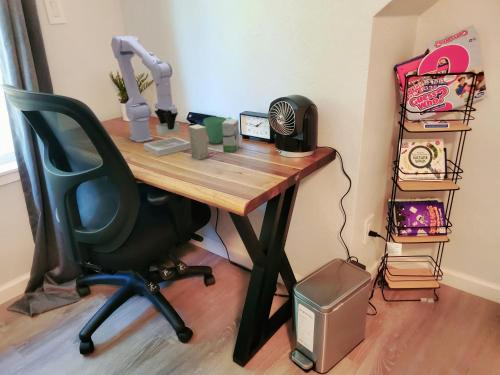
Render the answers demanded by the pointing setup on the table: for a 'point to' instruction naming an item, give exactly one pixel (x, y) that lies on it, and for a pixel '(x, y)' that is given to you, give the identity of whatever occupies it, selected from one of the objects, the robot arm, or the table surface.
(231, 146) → the ink box
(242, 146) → the table surface
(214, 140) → the mug
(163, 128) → the small crate
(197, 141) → the skincare box
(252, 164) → the table surface
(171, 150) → the white square tray
